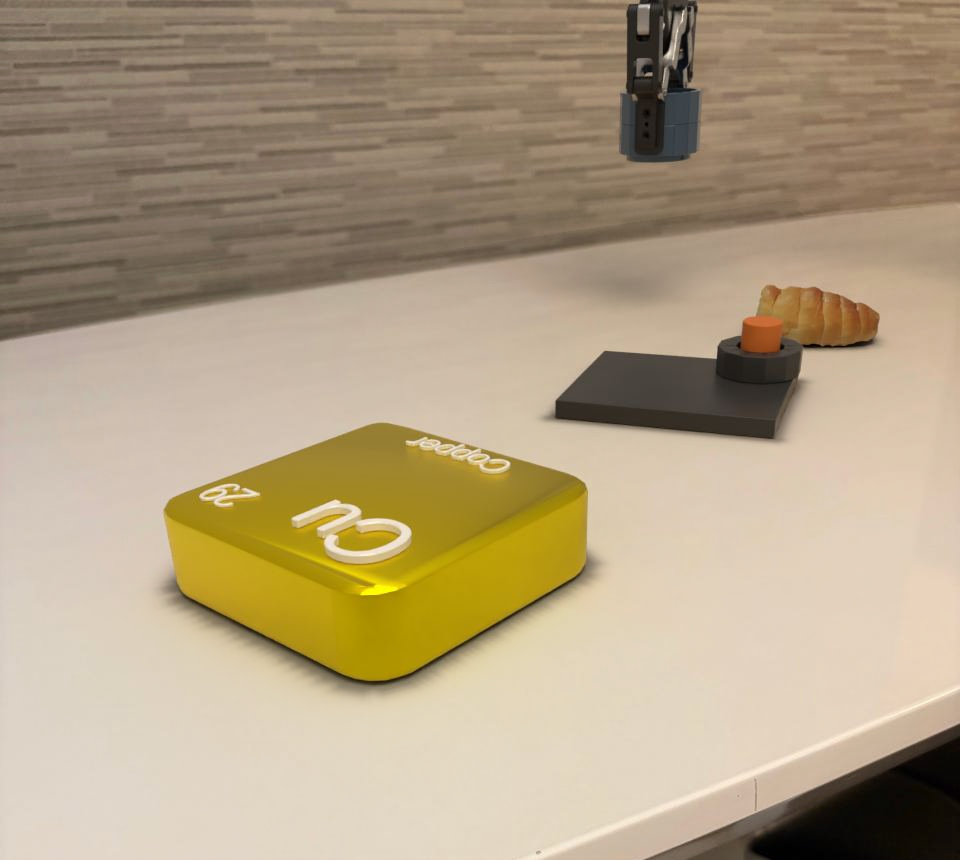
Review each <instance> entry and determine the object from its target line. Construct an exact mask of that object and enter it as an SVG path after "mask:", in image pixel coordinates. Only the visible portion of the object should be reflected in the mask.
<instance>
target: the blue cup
mask: <svg viewBox="0 0 960 860" xmlns="http://www.w3.org/2000/svg"><path fill="white" fill-rule="evenodd" d="M637 102H638V101H633V99H632V95H631V94H627V90H623V91H620V93H619V133H618V134H619V135H618V139H619V140H618V153H619V154H620V155H621V156H625V159H626V161H628V162H632V163H643V164H645V163H647V164H648V163H650V164H651V163H652V164H654V163H657V164H658V163H659V164H660V163H674V162H675V163H676V162H682V161H688V160H691V158H692V154H696V153H698V152H699V151H700V140H701V124H702V121H701V120H702V107H703V89H702V88H699V87H688V88H667V96H666V99H665V101H660V102H665V123H664V146H663V150H662V152H661V153H659V154H657V155H638V154H636V153H635V151H634V137H635V105H636V103H637Z"/></svg>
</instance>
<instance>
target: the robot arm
mask: <svg viewBox="0 0 960 860" xmlns="http://www.w3.org/2000/svg"><path fill="white" fill-rule="evenodd" d="M698 10H699V6H698V1H697V0H639V3H629V4H628V5H627V9H626V13H625V15H626V83H625V89H626V91H627V94H631V95H632V99H633V101H638V102H637V103H636V105H635V137H634V151H635V153H636V154H638V155H657V154H659V153H661V152H662V150H663V146H664V123H665V102H660V101H665V99H666V96H667V88H689V84H691V83H692V80H693V79H694V71H693V70H694V57H695V42H696V30H697V29H696V27H697V15H698V12H699V11H698ZM649 73H651V74H652V75H647V74H649Z"/></svg>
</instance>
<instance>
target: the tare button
mask: <svg viewBox="0 0 960 860" xmlns="http://www.w3.org/2000/svg"><path fill="white" fill-rule="evenodd" d="M782 326H783V321H782V320H781V319H778V318H775V317H769V316H756V315H755V316H749V317H746V318H744V319H743V321H742V327H741V335H740V336H741V347H740V349H741V350H745V351H749V352H761V353H766V352H777V351H780V344H781V335H782Z"/></svg>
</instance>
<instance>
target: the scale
mask: <svg viewBox="0 0 960 860" xmlns="http://www.w3.org/2000/svg"><path fill="white" fill-rule="evenodd" d="M741 336H742V335H735V336H732V337H728V338H725V339H722V340H720V342H719V343H718V345H717V348H716V349H717V351H716V358H711V357H710V358H709V357H700V356H699V357H698V356H685V355H672V354H670V355H669V354H657V353H655V354H654V353H643V352H642V353H641V352H629V351H617V350H604V351H602V353H600V354H599V356H597V357H596V359H595V360H594V361H593V362H592V363H591V364H590V365H589V366H587V368H585V370H583V372H581V374H580V375H579V376H578V377H577V378H576V379H575V380H574V381H573V382H572V383H571V384H570V385H569V386H568V387H567V388H566V389H565V390H564V391H563V392H562V393H561V394H560V395H559V396H558V397H557V398H556V399H555V401H554V402H555V406H554V407H555V414H554V415H555V416H554V417H555V418H556V419H566V420H576V421H577V420H578V421H587V422H598V423H608V424H609V423H610V424H618V425H619V424H620V425H628V426H629V425H630V426H641V427H649V428H663V429H670V430H683V431H691V432H692V431H693V432H701V433H702V432H704V433H713V434H714V433H715V434H724V435H734V436H735V435H737V436H745V437H746V436H747V437H757V438H766V439H774V438H775V436H776V434H777V432H778V430H779V429H778V428H779V426H780V424H781V421H782V419H783V417H784V414H785V413H786V409H787V408H788V405H789V402H790V400H791V397H792V396H793V393H794V391H795V388H796V386H797V383H798V381H799V376H800V373H801V370H802V363H803V362H802V361H803V355H804V354H803V353H804V344H800V343H798V342H797V341H795V340H791V339H787V338H783V337H781V344H780V351H777V352H766V353H761V352H749V351H745V350H741V349H740V347H741Z"/></svg>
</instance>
